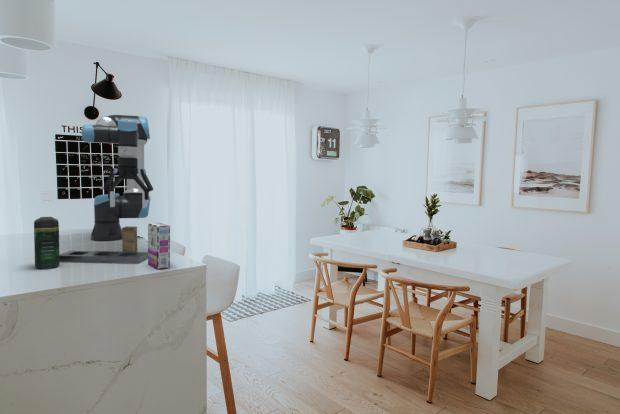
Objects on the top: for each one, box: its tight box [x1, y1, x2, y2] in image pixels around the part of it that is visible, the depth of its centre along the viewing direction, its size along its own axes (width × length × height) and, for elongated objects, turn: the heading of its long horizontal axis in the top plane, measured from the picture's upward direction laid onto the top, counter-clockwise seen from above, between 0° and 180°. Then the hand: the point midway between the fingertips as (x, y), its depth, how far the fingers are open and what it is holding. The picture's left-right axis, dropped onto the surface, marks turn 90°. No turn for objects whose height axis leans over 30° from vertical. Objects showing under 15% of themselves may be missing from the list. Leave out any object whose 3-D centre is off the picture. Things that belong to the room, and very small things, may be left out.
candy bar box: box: [147, 222, 171, 270], centre depth 157 cm, size 11×5×16 cm, turn 40°
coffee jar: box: [33, 216, 61, 269], centre depth 152 cm, size 10×8×19 cm
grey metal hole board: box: [59, 250, 148, 265], centre depth 165 cm, size 10×32×2 cm, turn 91°
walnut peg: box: [121, 225, 138, 252], centre depth 175 cm, size 4×4×12 cm
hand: (128, 207), depth 174 cm, fingers open, 13 cm apart
